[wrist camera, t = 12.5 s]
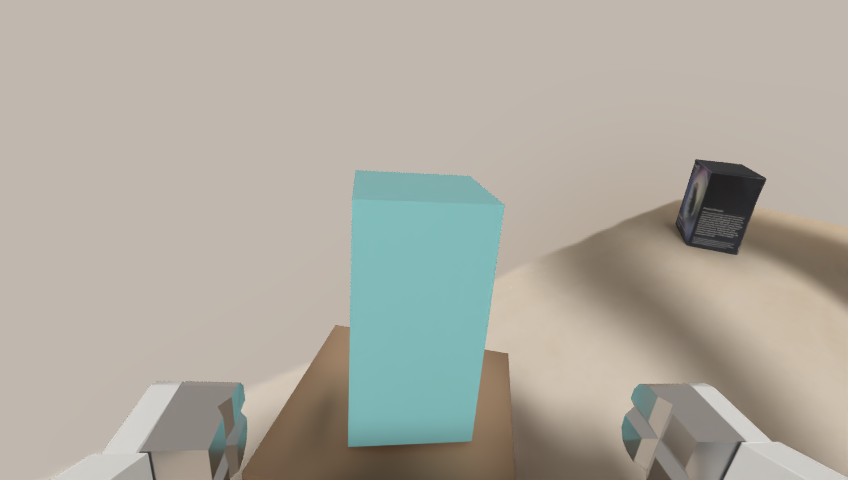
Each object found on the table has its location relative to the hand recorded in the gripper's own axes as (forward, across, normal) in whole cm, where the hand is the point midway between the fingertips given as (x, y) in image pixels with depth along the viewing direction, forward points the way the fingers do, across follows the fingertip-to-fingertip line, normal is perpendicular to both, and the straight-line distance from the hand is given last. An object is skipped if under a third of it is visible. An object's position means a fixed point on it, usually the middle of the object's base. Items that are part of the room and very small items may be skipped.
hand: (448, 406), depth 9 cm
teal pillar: (+8, 0, +8) cm, 11 cm away
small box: (+46, -46, +12) cm, 66 cm away
